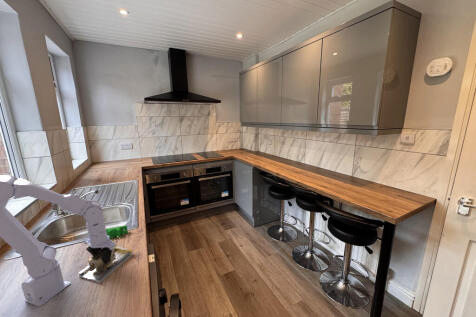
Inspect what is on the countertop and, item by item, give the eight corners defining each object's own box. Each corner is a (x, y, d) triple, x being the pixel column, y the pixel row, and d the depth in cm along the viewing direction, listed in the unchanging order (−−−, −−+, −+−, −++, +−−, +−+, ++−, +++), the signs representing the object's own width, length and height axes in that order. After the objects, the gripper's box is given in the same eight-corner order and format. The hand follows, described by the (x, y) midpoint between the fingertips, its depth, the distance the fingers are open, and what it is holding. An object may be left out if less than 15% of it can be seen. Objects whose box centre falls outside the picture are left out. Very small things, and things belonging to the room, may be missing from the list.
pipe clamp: (102, 241, 98) (100, 233, 97) (104, 237, 101) (102, 229, 100) (126, 236, 101) (125, 228, 100) (128, 232, 105) (126, 224, 104)
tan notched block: (109, 257, 83) (106, 246, 82) (116, 258, 82) (114, 248, 81) (90, 270, 76) (88, 260, 75) (98, 272, 75) (95, 261, 74)
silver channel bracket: (99, 283, 72) (98, 277, 71) (78, 277, 75) (77, 271, 75) (133, 254, 87) (132, 249, 86) (114, 250, 90) (113, 245, 90)
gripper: (120, 228, 78) (125, 257, 81) (93, 223, 82) (99, 251, 85) (103, 238, 71) (110, 270, 74) (75, 233, 75) (82, 263, 78)
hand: (103, 261), depth 79 cm, fingers closed on tan notched block, 4 cm apart
